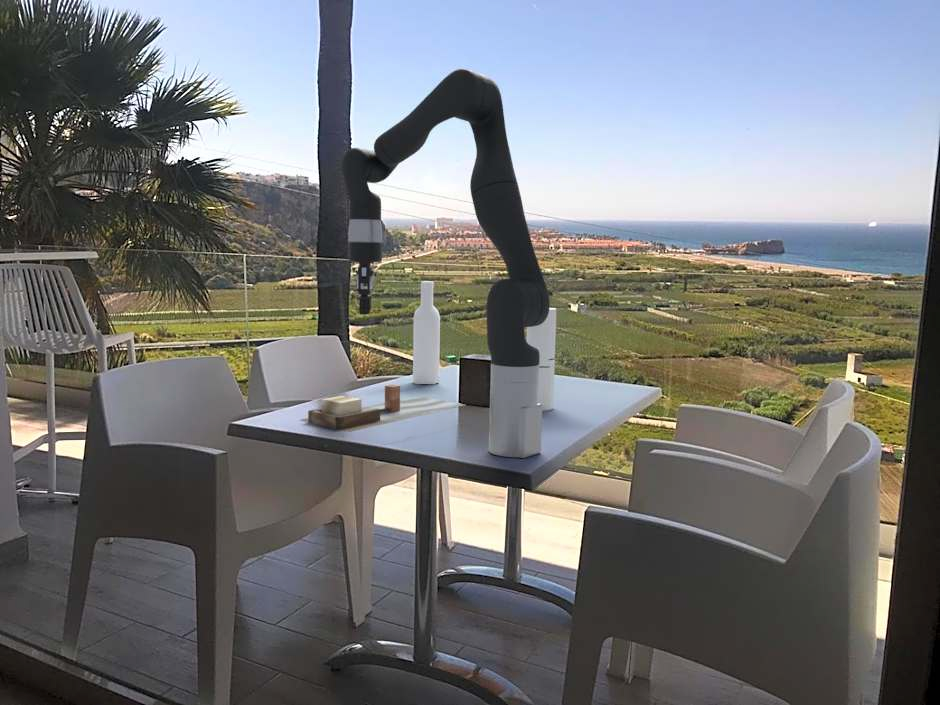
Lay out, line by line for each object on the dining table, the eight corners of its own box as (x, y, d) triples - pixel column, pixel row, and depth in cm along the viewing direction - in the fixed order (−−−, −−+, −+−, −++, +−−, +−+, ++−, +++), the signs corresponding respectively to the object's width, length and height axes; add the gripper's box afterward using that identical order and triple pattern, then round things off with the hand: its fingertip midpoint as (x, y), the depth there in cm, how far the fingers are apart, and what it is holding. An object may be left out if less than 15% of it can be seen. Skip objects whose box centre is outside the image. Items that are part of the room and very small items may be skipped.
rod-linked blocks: (405, 412, 175) (405, 386, 174) (340, 425, 159) (340, 398, 159) (386, 408, 179) (387, 383, 178) (322, 421, 163) (322, 394, 162)
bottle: (416, 380, 226) (417, 280, 222) (441, 381, 224) (443, 281, 221) (409, 384, 218) (410, 281, 214) (436, 385, 217) (437, 282, 213)
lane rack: (466, 407, 185) (466, 394, 185) (349, 435, 155) (349, 419, 154) (418, 399, 195) (418, 387, 195) (299, 423, 165) (299, 408, 164)
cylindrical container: (558, 408, 187) (562, 308, 184) (540, 411, 182) (543, 309, 179) (537, 403, 192) (540, 307, 189) (518, 407, 187) (521, 307, 184)
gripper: (381, 240, 160) (381, 315, 162) (382, 241, 174) (382, 311, 176) (346, 239, 160) (346, 315, 162) (350, 241, 174) (350, 310, 176)
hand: (365, 312), depth 169 cm, fingers open, 8 cm apart
